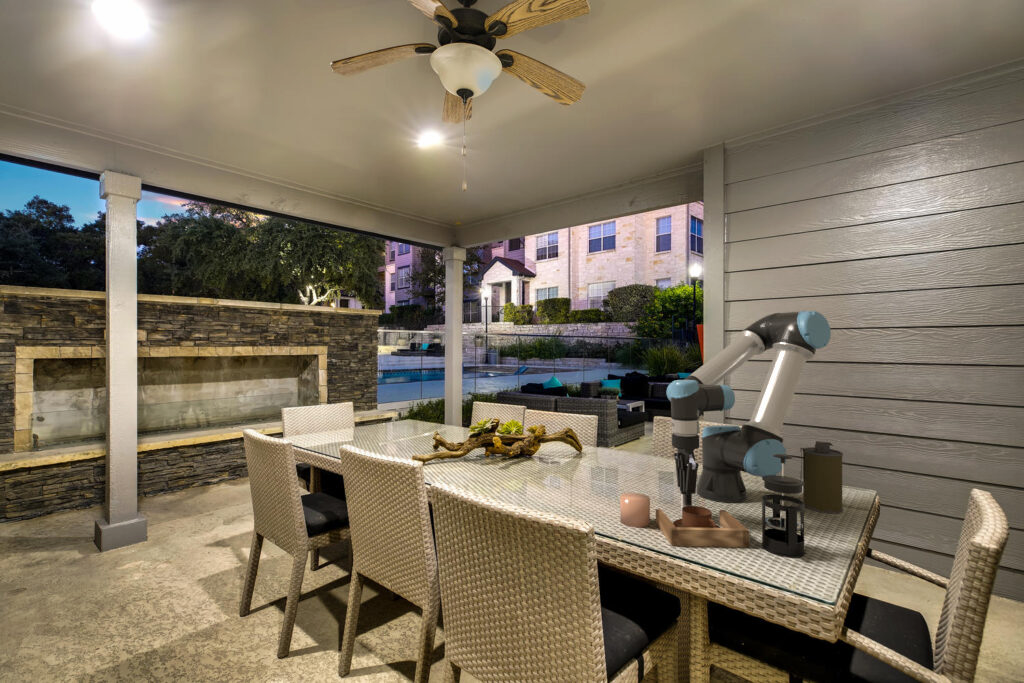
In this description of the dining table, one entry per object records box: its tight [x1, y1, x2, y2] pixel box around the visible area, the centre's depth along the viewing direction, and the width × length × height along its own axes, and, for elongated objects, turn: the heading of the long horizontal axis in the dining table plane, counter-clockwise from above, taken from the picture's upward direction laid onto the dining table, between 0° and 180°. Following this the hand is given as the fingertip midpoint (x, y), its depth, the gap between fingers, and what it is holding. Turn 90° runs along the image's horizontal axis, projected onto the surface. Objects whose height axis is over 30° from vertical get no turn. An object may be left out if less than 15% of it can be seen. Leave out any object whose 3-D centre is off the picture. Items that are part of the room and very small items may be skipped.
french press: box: [760, 454, 806, 559], centre depth 115 cm, size 12×9×23 cm
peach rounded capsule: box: [620, 492, 651, 529], centre depth 133 cm, size 8×8×7 cm
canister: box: [800, 440, 844, 514], centre depth 146 cm, size 11×10×20 cm
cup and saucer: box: [672, 505, 721, 528], centre depth 126 cm, size 12×12×6 cm
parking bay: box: [655, 508, 750, 548], centre depth 125 cm, size 19×14×4 cm
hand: (686, 515), depth 137 cm, fingers closed
